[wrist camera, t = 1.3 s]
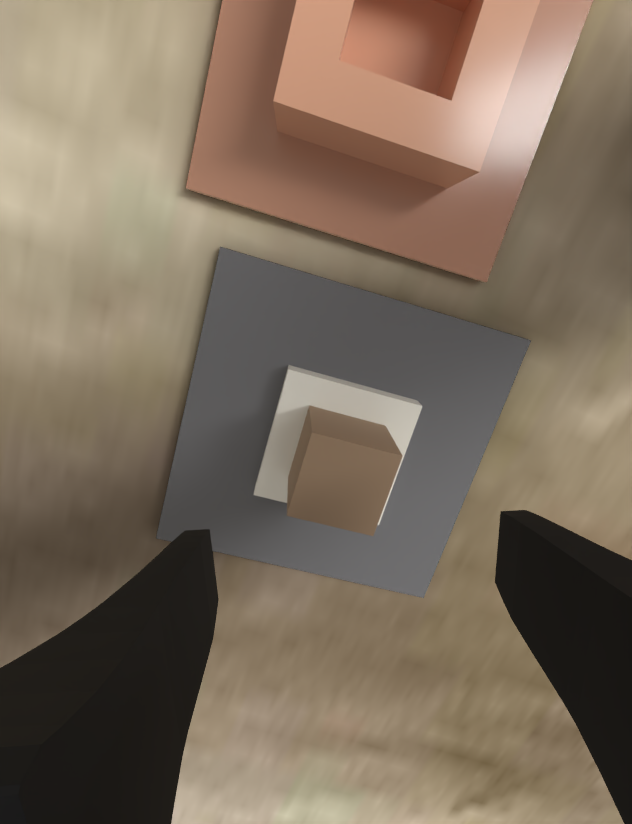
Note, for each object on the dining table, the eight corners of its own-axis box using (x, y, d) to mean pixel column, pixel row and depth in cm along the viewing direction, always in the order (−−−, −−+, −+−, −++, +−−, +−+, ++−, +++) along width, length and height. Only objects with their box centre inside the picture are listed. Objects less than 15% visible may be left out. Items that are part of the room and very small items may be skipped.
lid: (417, 400, 19) (447, 433, 15) (375, 514, 20) (393, 570, 16) (288, 365, 18) (287, 390, 14) (255, 485, 19) (245, 536, 16)
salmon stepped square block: (613, -72, 15) (707, -171, 11) (481, 281, 18) (524, 285, 14) (269, -219, 13) (260, -381, 10) (189, 189, 16) (161, 170, 13)
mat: (526, 339, 18) (530, 340, 18) (421, 592, 22) (423, 597, 21) (222, 246, 17) (220, 246, 17) (158, 533, 20) (156, 538, 20)
